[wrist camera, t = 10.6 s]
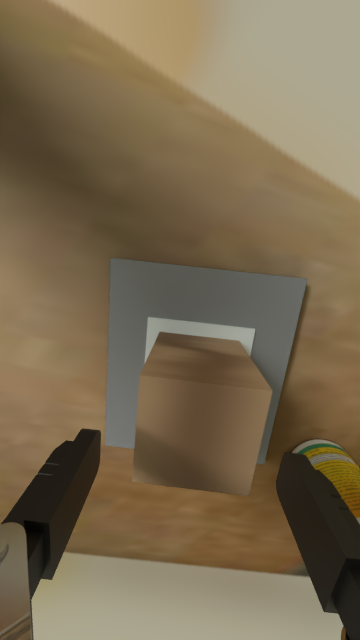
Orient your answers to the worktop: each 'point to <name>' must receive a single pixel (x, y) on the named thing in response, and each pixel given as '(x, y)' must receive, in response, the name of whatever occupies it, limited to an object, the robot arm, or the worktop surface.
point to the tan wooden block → (199, 415)
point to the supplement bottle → (335, 469)
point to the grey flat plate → (194, 327)
